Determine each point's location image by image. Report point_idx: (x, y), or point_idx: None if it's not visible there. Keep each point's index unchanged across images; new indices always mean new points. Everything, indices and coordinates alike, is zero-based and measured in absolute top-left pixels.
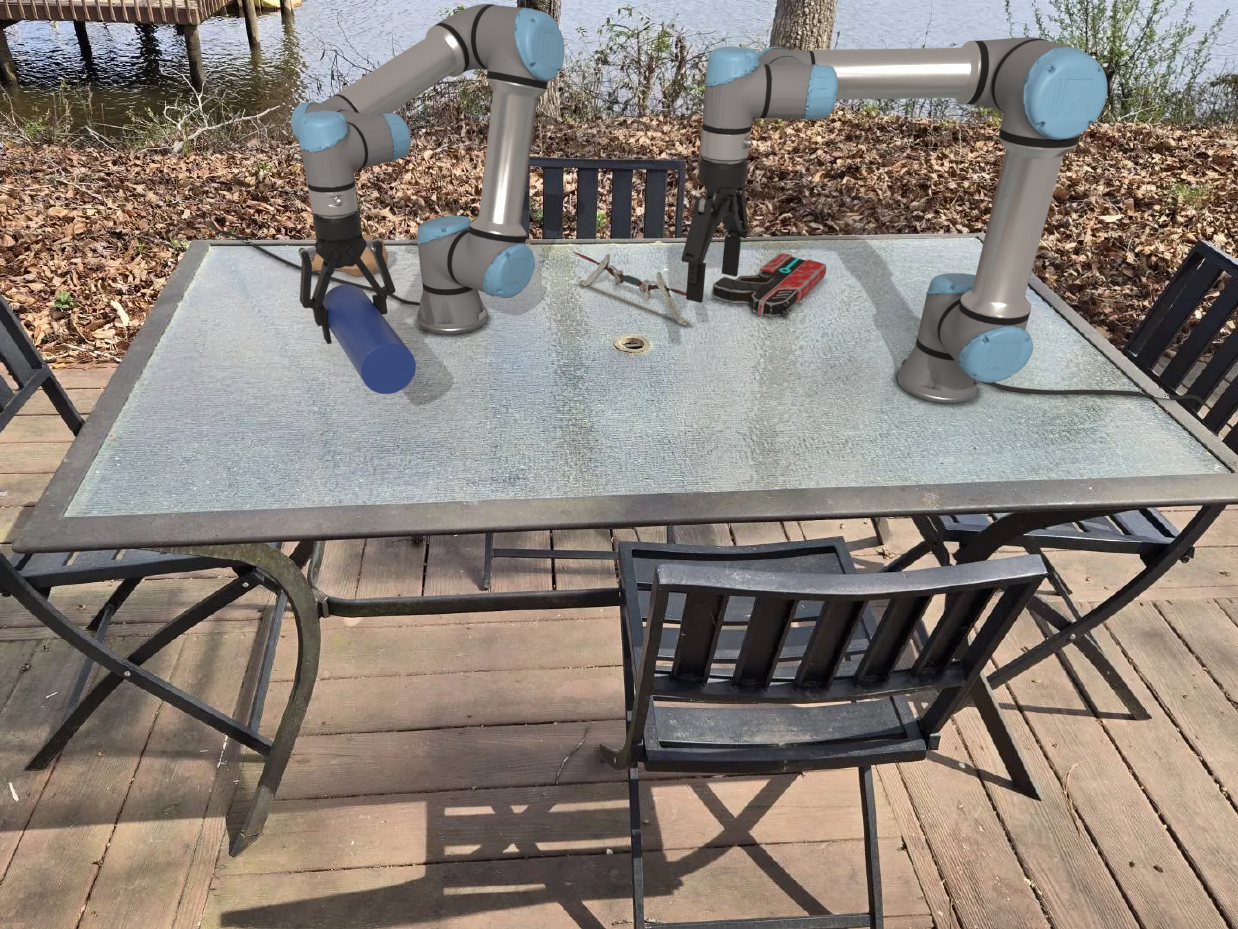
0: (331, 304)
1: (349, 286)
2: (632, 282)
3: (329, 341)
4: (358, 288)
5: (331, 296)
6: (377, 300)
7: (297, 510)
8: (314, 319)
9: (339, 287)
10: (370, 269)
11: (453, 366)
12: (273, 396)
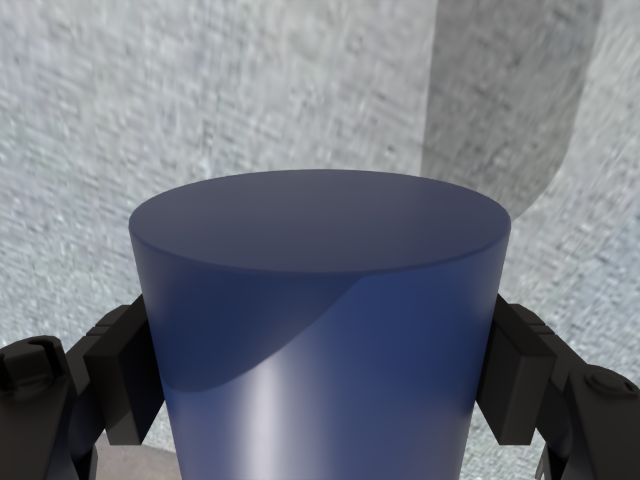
0: (178, 433)
1: (386, 332)
2: None
3: None
4: (470, 302)
5: (182, 370)
6: (509, 441)
7: (151, 450)
8: (101, 319)
9: (273, 330)
10: None
11: (601, 96)
12: (102, 46)
